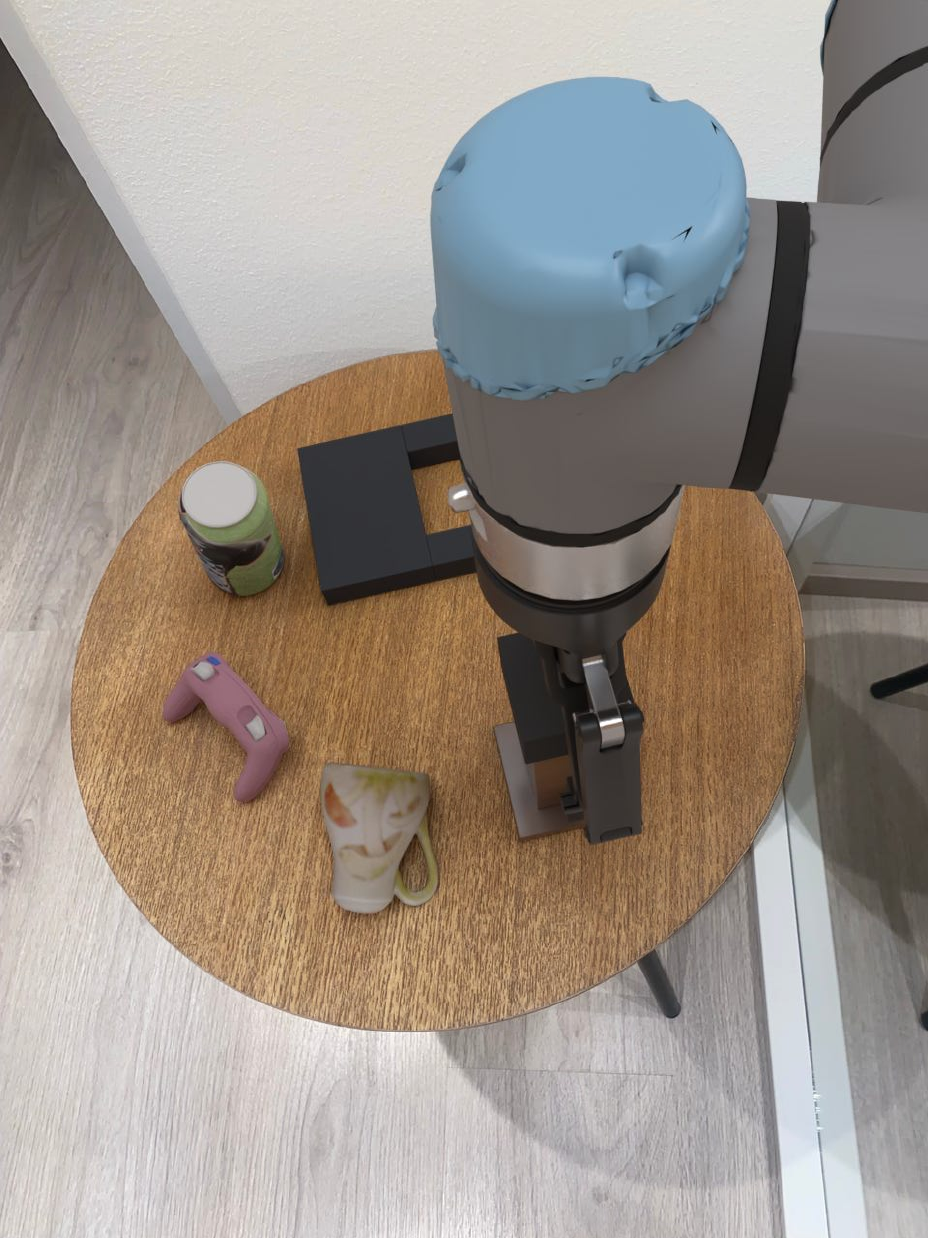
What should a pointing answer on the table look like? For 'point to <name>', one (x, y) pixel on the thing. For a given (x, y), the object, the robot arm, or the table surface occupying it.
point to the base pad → (379, 511)
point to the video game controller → (232, 718)
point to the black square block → (535, 700)
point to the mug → (375, 833)
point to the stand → (533, 787)
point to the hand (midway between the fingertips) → (565, 714)
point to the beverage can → (231, 527)
